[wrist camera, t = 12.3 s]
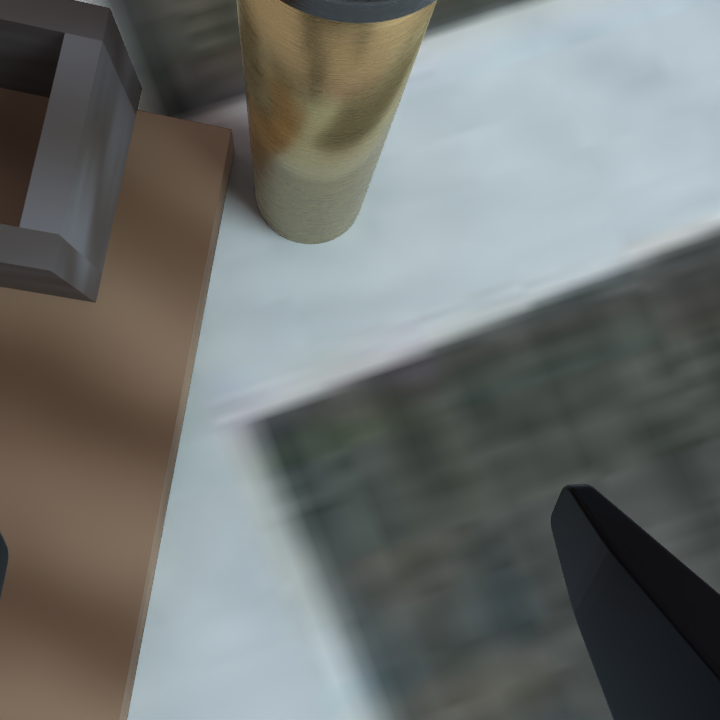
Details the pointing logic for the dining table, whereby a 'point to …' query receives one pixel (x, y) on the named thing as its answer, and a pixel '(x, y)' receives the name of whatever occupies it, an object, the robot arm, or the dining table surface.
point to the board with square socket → (90, 349)
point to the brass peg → (323, 103)
